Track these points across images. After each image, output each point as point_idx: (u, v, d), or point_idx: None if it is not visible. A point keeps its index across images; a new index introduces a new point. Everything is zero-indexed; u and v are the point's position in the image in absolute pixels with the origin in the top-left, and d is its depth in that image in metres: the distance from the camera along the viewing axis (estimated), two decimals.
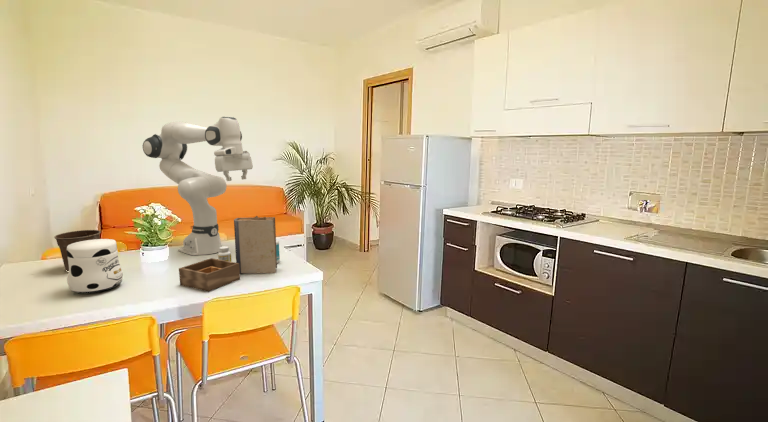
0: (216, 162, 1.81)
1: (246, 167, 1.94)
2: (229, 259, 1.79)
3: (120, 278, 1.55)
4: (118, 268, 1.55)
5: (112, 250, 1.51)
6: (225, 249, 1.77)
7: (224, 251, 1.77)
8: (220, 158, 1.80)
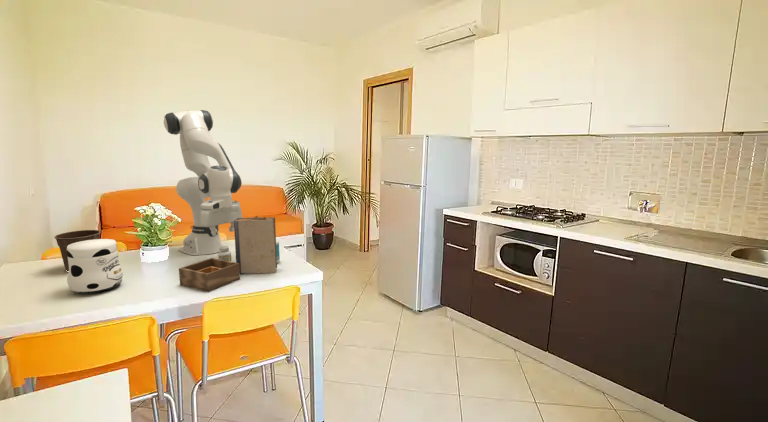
0: (201, 217, 1.68)
1: None
2: (229, 259, 1.79)
3: (120, 278, 1.55)
4: (118, 268, 1.55)
5: (112, 250, 1.51)
6: (225, 249, 1.77)
7: (224, 251, 1.77)
8: (206, 213, 1.67)
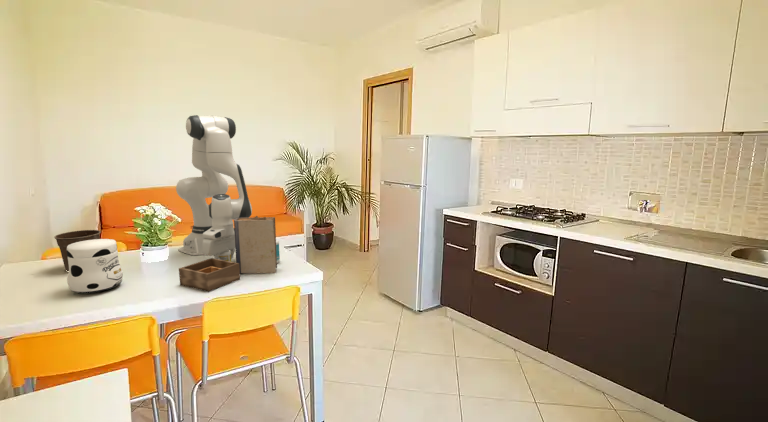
0: (203, 246, 1.70)
1: None
2: (229, 259, 1.79)
3: (120, 278, 1.55)
4: (118, 268, 1.55)
5: (112, 250, 1.51)
6: None
7: None
8: (208, 242, 1.69)
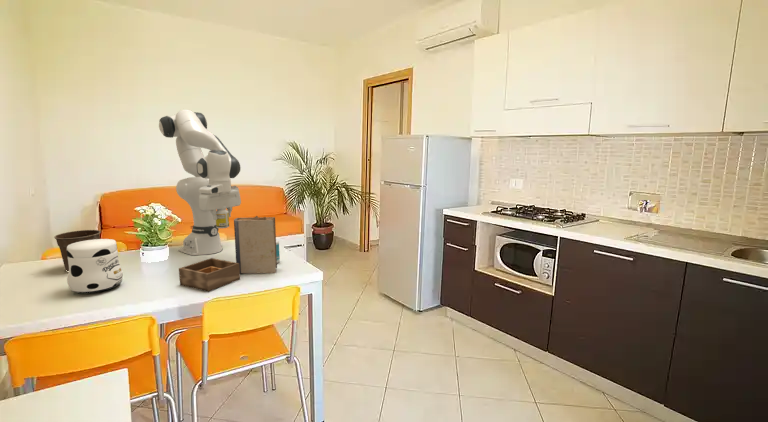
0: (200, 201, 1.66)
1: (233, 204, 1.79)
2: (226, 218, 1.75)
3: (120, 278, 1.55)
4: (118, 268, 1.55)
5: (112, 250, 1.51)
6: None
7: (221, 209, 1.74)
8: (205, 197, 1.65)
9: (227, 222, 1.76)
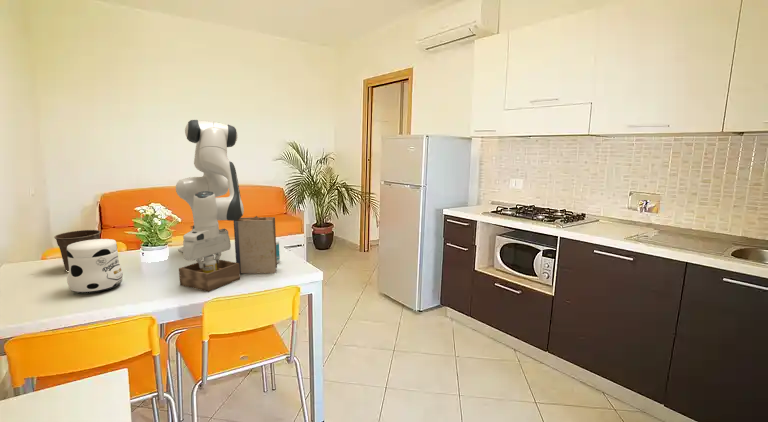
0: (184, 249, 1.51)
1: (222, 249, 1.64)
2: (214, 269, 1.60)
3: (120, 278, 1.55)
4: (118, 268, 1.55)
5: (112, 250, 1.51)
6: (210, 258, 1.59)
7: (208, 260, 1.59)
8: (189, 245, 1.50)
9: None
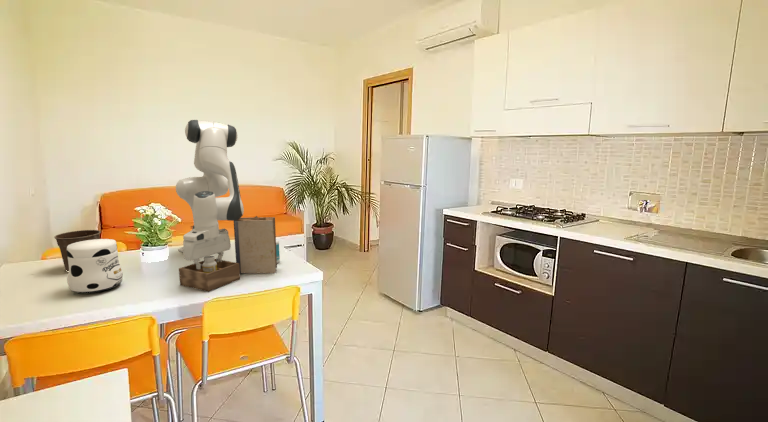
0: (184, 249, 1.51)
1: (222, 249, 1.64)
2: (215, 270, 1.60)
3: (120, 278, 1.55)
4: (118, 268, 1.55)
5: (112, 250, 1.51)
6: (210, 259, 1.59)
7: (209, 261, 1.59)
8: (189, 245, 1.50)
9: None
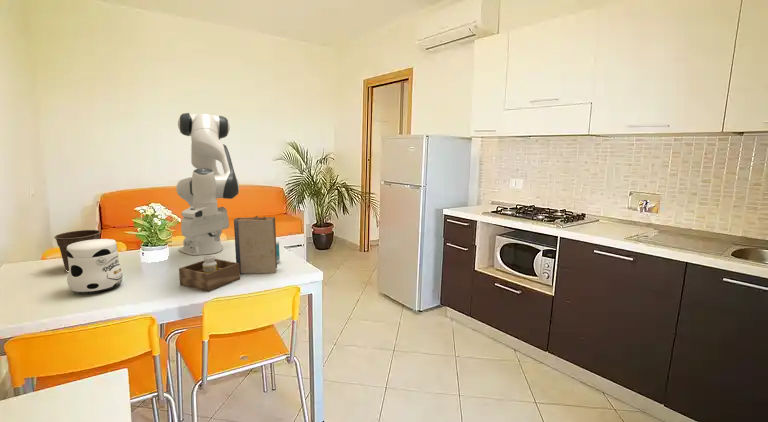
0: (182, 226, 1.50)
1: (220, 227, 1.63)
2: (215, 270, 1.60)
3: (120, 278, 1.55)
4: (118, 268, 1.55)
5: (112, 250, 1.51)
6: (210, 259, 1.59)
7: (209, 261, 1.59)
8: (188, 222, 1.49)
9: None
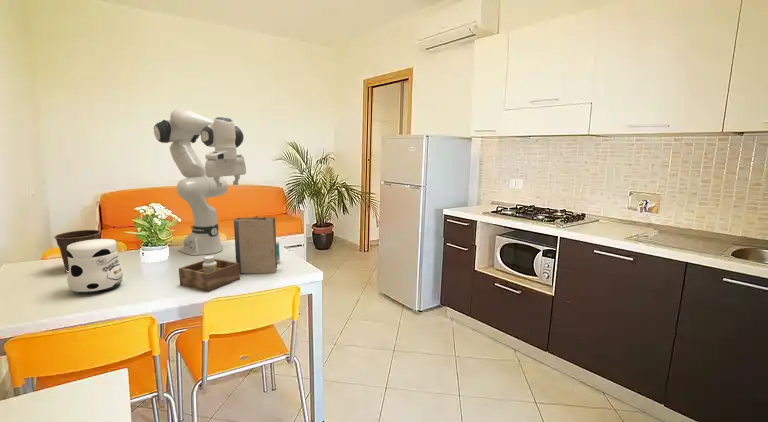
0: (206, 167, 1.68)
1: (239, 172, 1.81)
2: (215, 270, 1.60)
3: (120, 278, 1.55)
4: (118, 268, 1.55)
5: (112, 250, 1.51)
6: (210, 259, 1.59)
7: (209, 261, 1.59)
8: (211, 163, 1.67)
9: None
